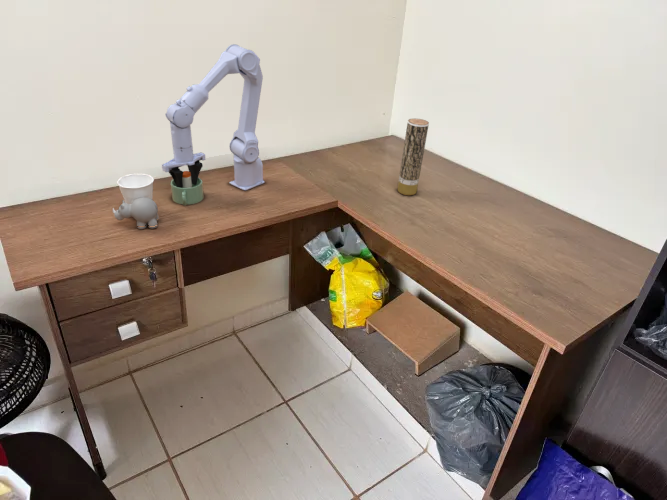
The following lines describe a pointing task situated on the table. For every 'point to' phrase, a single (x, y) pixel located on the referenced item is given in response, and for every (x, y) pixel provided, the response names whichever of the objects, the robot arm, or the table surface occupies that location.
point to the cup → (136, 187)
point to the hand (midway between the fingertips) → (187, 186)
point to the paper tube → (412, 156)
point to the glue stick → (186, 179)
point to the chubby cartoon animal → (139, 212)
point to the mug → (187, 193)
